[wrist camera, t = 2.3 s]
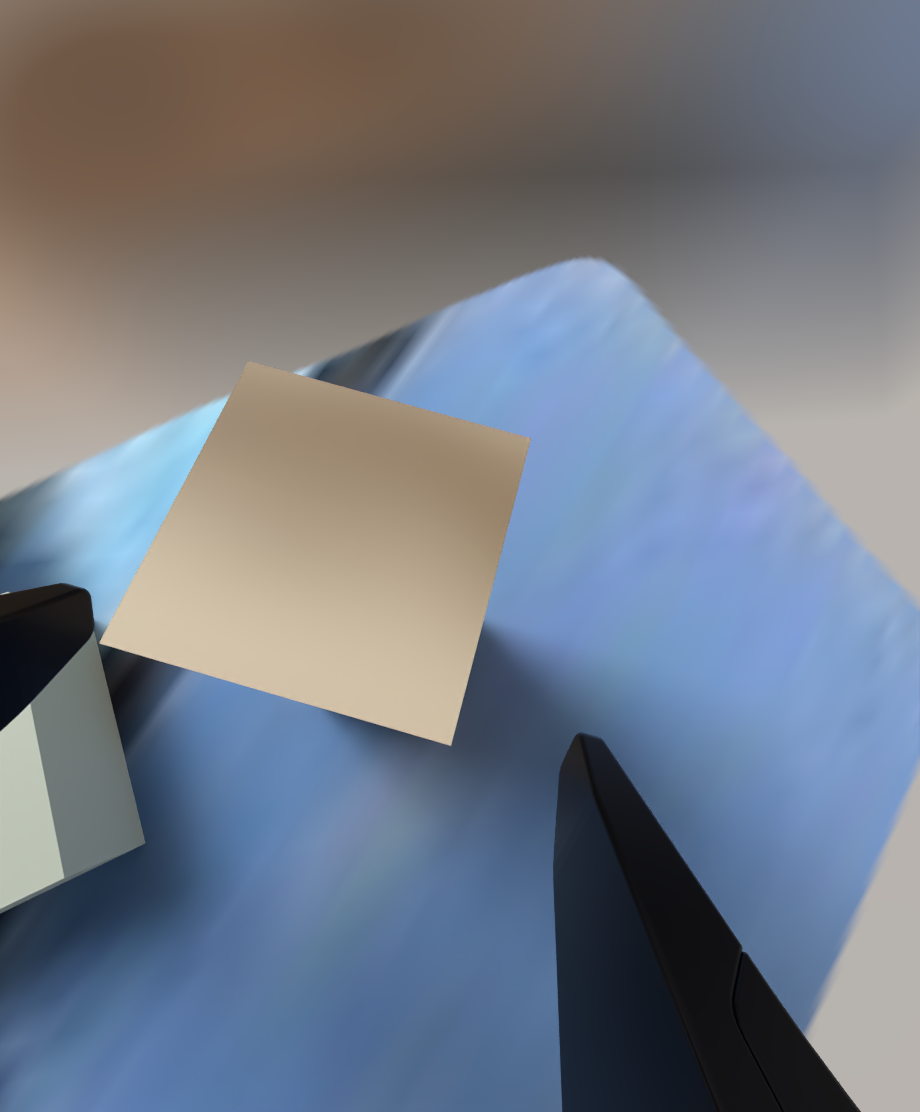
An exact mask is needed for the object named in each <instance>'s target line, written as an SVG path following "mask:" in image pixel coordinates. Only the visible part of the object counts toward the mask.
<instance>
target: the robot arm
mask: <svg viewBox="0 0 920 1112" xmlns="http://www.w3.org/2000/svg"><path fill="white" fill-rule="evenodd" d="M93 631H94V618H93V609H92V601H91V595H90V593H89V592H88V590H86V589H84V588H81V587H77V586H74V585H71V584H66V583H59V584H54V585H49V586H43V587H38V588H33V589H28V590H23V591H18V592H12V593H7V594H2V595H0V732H1V731H2V730H3V729H4V728H5V727H6V726H7V725H8V724H9V723H10V722H12V721H13V720H14V719H15V718H16V717H17V716H18V715H19V714H20V713H21V712H22V711H23V710H24V709H25V708H26V707H27V706H28V705H29V704H30V703H31V702H32V701H33V700H34V699H35V698H36V697H37V696H38V695H39V694H40V692H41V691H42V690H43V689H44V688H45V687H46V686H47V685H48V684H49V683H50V682H51V681H52V679H53V678H54V677H55V676H56V675H57V674H58V673H59V672H60V671H61V670H62V669H63V668H64V666H65V665H66V664H67V663H68V662H69V661H70V660H71V659H72V658H73V657H74V656H75V654H76V653H77V652H78V651H79V650H80V649H81V648H82V647H83V646H84V645H85V644H86V643H87V641H88V640H89V639H90V637H91V636H92V634H93ZM553 883H554V908H555V934H556V960H557V985H558V1011H559V1037H560V1062H561V1088H562V1112H861V1111H860V1110H859V1109H858V1107H857V1106H856V1105H855V1103H854V1102H853V1101H852V1100H851V1098H850V1097H849V1096H848V1094H847V1093H846V1092H845V1090H844V1089H843V1088H842V1086H841V1085H840V1084H839V1082H838V1081H837V1080H836V1078H835V1077H834V1076H833V1074H832V1073H831V1071H830V1070H829V1069H828V1067H827V1066H826V1065H825V1063H824V1062H823V1061H822V1059H821V1058H820V1057H819V1055H818V1054H817V1053H816V1051H815V1050H814V1048H813V1047H812V1046H811V1044H810V1043H809V1042H808V1040H807V1039H806V1038H805V1036H804V1035H803V1034H802V1032H801V1031H800V1029H799V1028H798V1026H797V1025H796V1024H795V1022H794V1021H793V1019H792V1018H791V1016H790V1015H789V1014H788V1012H787V1011H786V1009H785V1008H784V1006H783V1005H782V1004H781V1002H780V1001H779V999H778V998H777V996H776V995H775V993H774V992H773V991H772V989H771V988H770V986H769V985H768V983H767V982H766V980H765V979H764V978H763V976H762V975H761V973H760V972H759V970H758V969H757V967H756V966H755V964H754V963H753V961H752V960H751V958H750V957H749V955H748V954H747V953H746V952H742V945H741V944H740V942H739V941H738V939H737V938H736V936H735V935H734V933H733V932H732V930H731V929H730V927H729V926H728V925H727V923H726V922H725V920H724V919H723V917H722V916H721V914H720V913H719V911H718V910H717V908H716V907H715V905H714V904H713V902H712V901H711V899H710V898H709V896H708V895H707V893H706V892H705V890H704V889H703V887H702V886H701V884H700V883H699V882H698V880H697V879H696V877H695V876H694V874H693V873H692V871H691V870H690V868H689V867H688V865H687V864H686V862H685V861H684V859H683V858H682V856H681V855H680V853H679V852H678V850H677V849H676V847H675V846H674V844H673V843H672V842H671V840H670V839H669V837H668V836H667V834H666V833H665V831H664V830H663V828H662V827H661V825H660V824H659V822H658V821H657V819H656V818H655V816H654V815H653V813H652V812H651V810H650V809H649V807H648V806H647V804H646V803H645V801H644V800H643V799H642V797H641V796H640V794H639V793H638V791H637V790H636V788H635V787H634V785H633V784H632V782H631V781H630V779H629V778H628V776H627V775H626V773H625V772H624V770H623V769H622V767H621V766H620V764H619V763H618V761H617V760H616V758H615V757H614V756H613V754H612V753H611V751H610V750H609V748H608V747H607V745H606V744H605V742H604V741H603V740H602V739H601V738H599V737H596V736H593V735H589V734H586V733H578V734H577V735H576V736H575V738H574V740H573V742H572V744H571V746H570V748H569V750H568V752H567V754H566V756H565V758H564V761H563V763H562V765H561V769H560V774H559V785H558V799H557V814H556V829H555V843H554V861H553Z"/></svg>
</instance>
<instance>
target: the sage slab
mask: <svg viewBox="0 0 920 1112" xmlns="http://www.w3.org/2000/svg"><path fill="white" fill-rule="evenodd" d="M7 593H11V592H6V593H3V594H7ZM1 595H2V594H1ZM143 844H146V843H145V839H144V834H143V830H142V826H141V822H140V818H139V814H138V810H137V806H136V801H135V797H134V793H133V789H132V785H131V781H130V777H129V773H128V769H127V764H126V760H125V756H124V752H123V748H122V744H121V740H120V736H119V731H118V727H117V723H116V719H115V715H114V711H113V707H112V703H111V699H110V694H109V690H108V686H107V682H106V678H105V674H104V670H103V666H102V661H101V657H100V653H99V649H98V645H97V641H96V637H95V633H94V631H93V634H92V636H91V637H90V639H89V640H88V641H87V643H86V644H85V645H84V646H83V647H82V648H81V649H80V650H79V651H78V652H77V653H76V654H75V656H74V657H73V658H72V659H71V660H70V661H69V662H68V663H67V664H66V665H65V666H64V668H63V669H62V670H61V671H60V672H59V673H58V674H57V675H56V676H55V677H54V678H53V679H52V681H51V682H50V683H49V684H48V685H47V686H46V687H45V688H44V689H43V690H42V691H41V692H40V694H39V695H38V696H37V697H36V698H35V699H34V700H33V701H32V702H31V703H30V704H29V705H28V706H27V707H26V708H25V709H24V710H23V711H22V712H21V713H20V714H19V715H18V716H17V717H16V718H15V719H14V720H13V721H12V722H10V723H9V724H8V725H7V726H6V727H5V728H4V729H3V730H2V731H1V732H0V914H1V913H3V912H5V911H7V910H9V909H11V908H13V907H15V906H17V905H19V904H21V903H23V902H25V901H27V900H30V899H32V898H34V897H36V896H38V895H40V894H42V893H44V892H46V891H48V890H50V889H52V888H54V887H56V886H59V885H61V884H63V883H65V882H67V881H69V880H71V879H73V878H75V877H77V876H79V875H81V874H83V873H85V872H88V871H90V870H92V869H94V868H96V867H98V866H100V865H102V864H104V863H106V862H108V861H110V860H112V859H114V858H117V857H119V856H121V855H123V854H125V853H127V852H129V851H131V850H133V849H135V848H137V847H139V846H141V845H143Z"/></svg>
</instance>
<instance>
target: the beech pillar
mask: <svg viewBox="0 0 920 1112" xmlns="http://www.w3.org/2000/svg"><path fill="white" fill-rule="evenodd" d="M530 440H531V438H528V437H524V436H520V435H517V434H513V433H509V432H506V431H502V430H498V429H495V428H491V427H487V426H484V425H480V424H476V423H473V422H469V421H465V420H462V419H458V418H454V417H451V416H447V415H443V414H440V413H436V412H433V411H429V410H425V409H422V408H418V407H414V406H411V405H407V404H403V403H400V402H396V401H392V400H389V399H385V398H381V397H378V396H374V395H370V394H367V393H363V392H359V391H356V390H352V389H348V388H345V387H341V386H337V385H334V384H330V383H326V382H323V381H319V380H315V379H312V378H308V377H304V376H301V375H297V374H294V373H290V372H286V371H283V370H279V369H275V368H271V367H268V366H264V365H261V364H257V363H253V362H250V361H249V362H248V363H247V365H246V367H245V369H244V371H243V373H242V374H241V376H240V378H239V380H238V382H237V384H236V386H235V388H234V389H233V391H232V393H231V395H230V397H229V399H228V401H227V403H226V405H225V406H224V408H223V410H222V412H221V414H220V416H219V418H218V420H217V422H216V423H215V425H214V427H213V429H212V431H211V433H210V435H209V437H208V439H207V440H206V442H205V444H204V446H203V448H202V450H201V452H200V454H199V455H198V457H197V459H196V461H195V463H194V465H193V467H192V469H191V471H190V472H189V474H188V476H187V478H186V480H185V482H184V484H183V486H182V488H181V489H180V491H179V493H178V495H177V497H176V499H175V501H174V503H173V505H172V506H171V508H170V510H169V512H168V514H167V516H166V518H165V520H164V522H163V523H162V525H161V527H160V529H159V531H158V533H157V535H156V537H155V539H154V540H153V542H152V544H151V546H150V548H149V550H148V552H147V554H146V556H145V557H144V559H143V561H142V563H141V565H140V567H139V569H138V571H137V573H136V574H135V576H134V578H133V580H132V582H131V584H130V586H129V588H128V590H127V591H126V593H125V595H124V597H123V599H122V601H121V603H120V605H119V607H118V608H117V610H116V612H115V614H114V616H113V618H112V620H111V622H110V624H109V625H108V627H107V629H106V631H105V633H104V635H103V637H102V639H101V641H100V642H99V643H100V644H103V645H107V646H110V647H113V648H117V649H120V650H124V651H127V652H131V653H134V654H137V655H141V656H144V657H148V658H151V659H155V660H158V661H161V662H165V663H168V664H172V665H175V666H179V667H182V668H185V669H189V670H192V671H196V672H199V673H203V674H206V675H209V676H213V677H216V678H220V679H223V680H227V681H230V682H234V683H237V684H240V685H244V686H247V687H251V688H254V689H258V690H261V691H264V692H268V693H271V694H275V695H278V696H282V697H285V698H288V699H292V700H295V701H299V702H302V703H306V704H309V705H312V706H316V707H319V708H323V709H326V710H330V711H333V712H336V713H340V714H343V715H347V716H350V717H354V718H357V719H361V720H364V721H367V722H371V723H374V724H378V725H381V726H385V727H388V728H391V729H395V730H398V731H402V732H405V733H409V734H412V735H415V736H419V737H422V738H426V739H429V740H433V741H436V742H439V743H443V744H446V745H450V746H451V744H452V740H453V736H454V732H455V728H456V725H457V721H458V717H459V713H460V709H461V705H462V702H463V698H464V694H465V690H466V686H467V682H468V679H469V675H470V671H471V667H472V663H473V659H474V655H475V652H476V648H477V644H478V640H479V636H480V632H481V629H482V625H483V621H484V617H485V613H486V609H487V605H488V602H489V598H490V594H491V590H492V586H493V582H494V579H495V575H496V571H497V567H498V563H499V559H500V555H501V552H502V548H503V544H504V540H505V536H506V532H507V529H508V525H509V521H510V517H511V513H512V509H513V505H514V502H515V498H516V494H517V490H518V486H519V482H520V479H521V475H522V471H523V467H524V463H525V459H526V455H527V452H528V448H529V444H530Z"/></svg>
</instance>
